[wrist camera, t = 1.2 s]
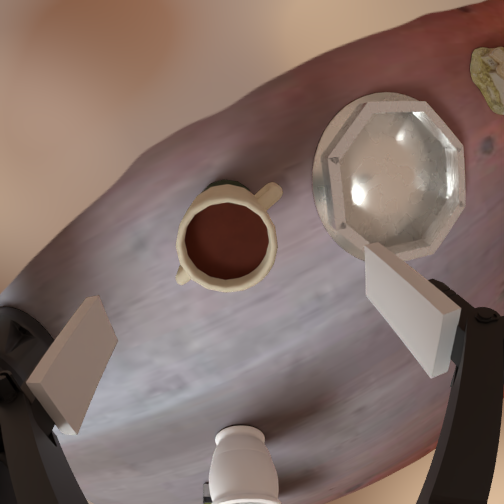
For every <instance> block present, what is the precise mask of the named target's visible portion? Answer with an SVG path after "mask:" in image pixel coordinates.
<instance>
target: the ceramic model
mask: <svg viewBox="0 0 504 504" xmlns="http://www.w3.org/2000/svg"><path fill="white" fill-rule="evenodd" d="M470 72H471V77H472V80H473V82H474V83H475V84H476V85H477V87H478V88H479V89H480V91H481V93H482V94H483V96H484V98H485V99H486V102H487V103H488V105H489V107H490V109H491V110H492V111H494V112H495V113H497V114H501V115H504V47H497V48H490V49H489V48H484V47H481V48H477V49H475V50H474V51H473V53H472V58H471V65H470Z"/></svg>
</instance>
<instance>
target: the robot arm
mask: <svg viewBox="0 0 504 504" xmlns="http://www.w3.org/2000/svg"><path fill="white" fill-rule="evenodd" d="M364 249H365V277H366V296H367V297H368V299H369V300H370V301H371V302H372V304H373V305H374V306H375V307H376V308H377V310H378V311H379V312H380V313H381V315H382V316H383V317H384V318H385V320H386V321H387V322H388V323H389V325H390V326H391V327H392V328H393V330H394V331H395V332H396V334H397V335H398V336H399V337H400V339H401V340H402V341H403V343H404V344H405V345H406V346H407V348H408V349H409V350H410V352H411V353H412V354H413V356H414V357H415V358H416V359H417V361H418V362H419V363H420V365H421V366H422V367H423V369H424V370H425V371H426V373H427V374H428V375H429V377H430V378H433V377H436V376H438V375H441V374H443V373H445V372H447V371H448V368H449V364H450V360H452V361H453V362H454V363H455V364H456V368H455V372H454V375H453V379H452V382H451V385H450V387H451V392H450V397H449V402H448V406H447V410H446V414H445V418H444V422H443V426H442V430H441V433H440V437H439V440H438V444H437V447H436V450H435V454H434V457H433V460H432V463H431V466H430V469H429V472H428V474H427V477H426V480H425V483H424V485H423V488H422V490H421V493H420V495H419V498H418V500H417V503H416V504H487V500H488V496H489V492H490V488H491V483H492V479H493V474H494V469H495V462H496V456H497V451H498V444H499V436H500V427H501V417H502V403H503V384H504V316H500V315H499V314H498V313H497V312H496V311H494V310H492V309H490V308H486V307H478V308H474V307H472V306H471V305H470V304H469V303H468V302H466V301H465V300H464V299H463V298H461V297H460V296H459V295H458V294H457V295H456V293H455V292H454V291H453V290H450V288H449V287H448V286H446V285H445V284H444V283H442V282H440V281H437V280H434V279H430V280H427V279H425V278H424V277H423V276H422V275H420V274H419V273H418V272H417V271H415V270H414V269H413V268H412V267H410V266H409V265H408V264H406V263H405V262H404V261H403V260H401V259H400V258H399V257H397V256H396V255H395V254H393V253H392V252H391V251H390V250H388V249H387V248H386V247H384V246H383V245H382V244H380V243H379V242H377V243H372V244H367V245H364ZM117 342H118V339H117V337H116V335H115V333H114V330H113V328H112V326H111V323H110V321H109V319H108V316H107V314H106V311H105V309H104V306H103V304H102V301H101V299H100V296H99V295H98V296H92V297H87V298H86V299H85V300H84V302H83V303H82V304H81V305H80V307H79V308H78V309H77V311H76V312H75V313H74V315H73V316H72V317H71V319H70V320H69V321H68V323H67V324H66V325H65V327H64V328H63V329H62V331H61V332H60V333H59V335H58V336H57V338H56V339H55V340H53V339H52V337H51V336H50V335H49V333H48V332H47V331H46V330H45V329H44V328H43V327H42V326H41V325H40V324H39V323H38V322H37V321H36V320H35V319H33V318H32V317H31V316H29V315H28V314H26V313H24V312H23V311H20V310H18V309H15V308H11V307H2V308H0V504H88V502H87V500H86V498H85V496H84V494H83V493H82V491H81V489H80V487H79V485H78V483H77V481H76V479H75V477H74V475H73V473H72V471H71V468H70V466H69V464H68V462H67V460H66V457H65V455H64V453H63V451H62V448H61V446H60V443H59V441H58V438H57V436H56V435H55V434H54V432H53V431H52V429H53V427H54V425H56V426H57V427H58V429H59V430H60V431H61V432H62V434H70V435H78V432H79V429H80V427H81V424H82V422H83V419H84V417H85V414H86V412H87V410H88V407H89V405H90V402H91V400H92V398H93V395H94V393H95V390H96V388H97V386H98V383H99V381H100V379H101V377H102V374H103V372H104V370H105V368H106V365H107V363H108V361H109V359H110V357H111V354H112V352H113V350H114V348H115V346H116V344H117Z"/></svg>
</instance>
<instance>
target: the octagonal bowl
mask: <svg viewBox="0 0 504 504" xmlns="http://www.w3.org/2000/svg"><path fill="white" fill-rule="evenodd" d="M312 191H313V197H314V202H315V206H316V209H317V212H318V215H319V217H320V219H321V221H322V223H323V226H324V227H325V229H326V230H327V232H328V233H329V235H330V236H331V237H332V238H333V240H334V241H335V242H336V243H337V244H338V245H339V246H340V247H342V248H343V249H344V250H345V251H346V252H348V253H349V254H351V255H353V256H354V257H356V258H359V259H361V260H363V261H365V249H364V245H367V244H372V243H377V242H379V243H380V244H382V245H383V246H384V247H386V248H387V249H388V250H390V251H391V252H392V253H393V254H395V255H396V256H397V257H399V258H400V259H401V260H403V261H408V260H412V259H416V258H420V257H423V256H427V255H431V254H434V253H435V251H436V250H437V249H438V247H439V246H440V244H441V243H442V241H443V240H444V238H445V237H446V235H447V234H448V232H449V231H450V229H451V228H452V226H453V225H454V223H455V222H456V220H457V219H458V217H459V216H460V214H461V212H462V211H463V209H464V208H465V164H464V148H463V145H462V144H461V142H460V141H459V140H458V139H457V137H456V136H455V135H454V134H453V132H452V131H451V130H450V129H449V127H448V126H447V125H446V124H445V123H444V122H443V120H442V119H441V118H440V117H439V116H438V115H437V113H436V112H435V111H434V110H433V109H432V108H431V107H430V106H429V105H428V103H427V102H426V101H418V100H416V99H414V98H412V97H409V96H407V95H403V94H399V93H391V92H382V93H374V94H370V95H366V96H363V97H361V98H359V99H356V100H354V101H353V102H351V103H349V104H348V105H346V106H345V107H344V108H343V109H342V110H340V111H339V112H338V113H337V114H336V115H335V116H334V118H333V119H332V120H331V121H330V122H329V124H328V126H327V127H326V129H325V130H324V132H323V134H322V136H321V138H320V140H319V143H318V146H317V149H316V152H315V155H314V161H313V167H312Z"/></svg>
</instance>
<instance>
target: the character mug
mask: <svg viewBox="0 0 504 504" xmlns="http://www.w3.org/2000/svg"><path fill="white" fill-rule="evenodd" d="M282 194H283V191H282V188H281V187H280V186H279V185H278V184H276V183H274V182H271V183H268V184H266V185H265V186H264V187H263V188H262V189H260V190H259V191H258V192H257V193H256V194H255V195H254V194H252V193H251V192H250V190H249V189H248V188H246V187H245V186H243V185H242V184H240V183H239V182H237V181H230V180H221V181H218V182H214V183H211V184H210V185H209V186H208V187H207V188H206V189H205V190H204V191H203V192H202V193H201V194H199V195H198V196H197V197H196V198H195V200H194V201H193V203H192V204H191V205H190V207H189V208H188V210H187V212H186V214H185V215H184V217H183V219H182V221H181V223H180V225H179V230H178V235H177V241H176V249H177V253H178V257H179V261H180V266H179V269H178V272H177V275H176V281H177V283H178V284H180V285H184V284H185V283H187V282H188V281H190V280H191V279H192V280H193V281H195V282H197V283H198V284H200V285H202V286H203V287H205V288H207V289H210V290H215V291H220V292H225V293H227V292H235V291H243V290H245V289H248V288H250V287H252V286H254V285H256V284H257V283H259V282H260V281H262V280H263V279H264V277H265V276H266V275H267V274H268V273H269V271H270V269H271V268H272V266H273V264H274V261H275V257H276V252H277V248H278V245H277V238H276V230H275V226H274V224H273V222H272V221H271V219H270V217H269V215H268V213H267V210H268V209H269V208H270V207H271V206H272V205H273V204H275V203H276V202H277V201H278V200H279V199H280V198H281V196H282Z"/></svg>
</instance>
